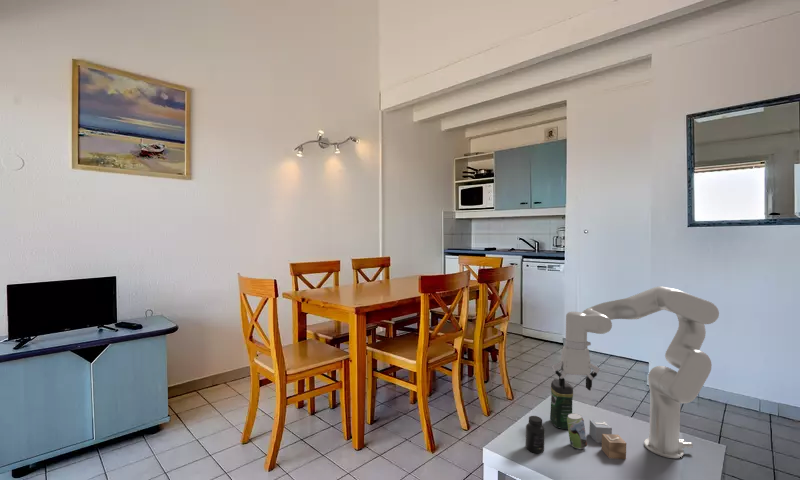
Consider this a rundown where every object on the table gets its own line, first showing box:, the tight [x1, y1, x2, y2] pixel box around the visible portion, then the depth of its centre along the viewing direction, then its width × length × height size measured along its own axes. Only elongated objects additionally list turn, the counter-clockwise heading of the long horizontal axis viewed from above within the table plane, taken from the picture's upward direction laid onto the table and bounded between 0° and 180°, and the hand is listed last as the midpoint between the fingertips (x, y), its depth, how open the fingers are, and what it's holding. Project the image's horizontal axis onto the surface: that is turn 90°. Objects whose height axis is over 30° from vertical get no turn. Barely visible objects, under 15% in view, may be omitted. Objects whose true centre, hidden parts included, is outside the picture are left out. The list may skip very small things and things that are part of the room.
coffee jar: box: [549, 378, 574, 430], centre depth 166 cm, size 10×8×19 cm
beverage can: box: [567, 412, 588, 450], centre depth 149 cm, size 6×7×12 cm
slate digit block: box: [588, 419, 613, 443], centre depth 155 cm, size 6×6×6 cm
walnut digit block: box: [601, 433, 627, 460], centre depth 144 cm, size 6×6×6 cm
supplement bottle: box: [524, 415, 546, 455], centre depth 146 cm, size 7×7×12 cm
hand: (575, 388), depth 149 cm, fingers open, 9 cm apart
